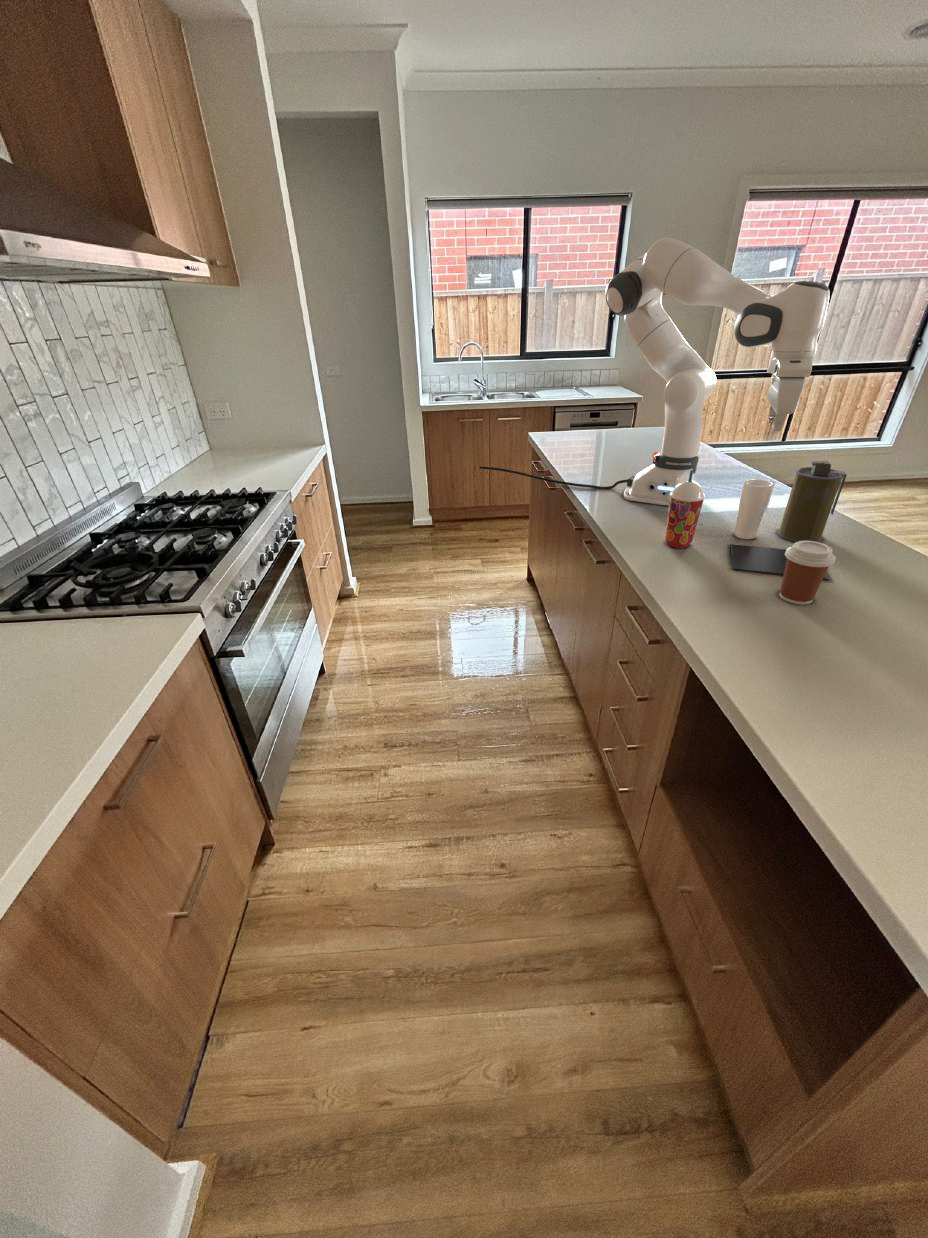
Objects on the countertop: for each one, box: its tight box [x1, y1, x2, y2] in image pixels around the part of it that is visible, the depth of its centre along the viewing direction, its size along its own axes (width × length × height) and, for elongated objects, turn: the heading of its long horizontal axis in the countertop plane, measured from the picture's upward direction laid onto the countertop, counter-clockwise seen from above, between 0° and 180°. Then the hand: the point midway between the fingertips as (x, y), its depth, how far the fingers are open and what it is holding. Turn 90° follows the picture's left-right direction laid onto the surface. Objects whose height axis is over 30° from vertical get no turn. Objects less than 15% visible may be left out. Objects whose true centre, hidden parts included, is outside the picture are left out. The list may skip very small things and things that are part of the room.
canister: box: [777, 460, 848, 543], centre depth 134 cm, size 11×10×20 cm
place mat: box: [729, 543, 830, 581], centre depth 127 cm, size 20×15×1 cm
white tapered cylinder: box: [733, 478, 774, 540], centre depth 137 cm, size 7×7×15 cm
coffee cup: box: [778, 541, 837, 605], centre depth 109 cm, size 9×9×12 cm
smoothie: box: [664, 470, 706, 549], centre depth 133 cm, size 8×8×20 cm
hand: (773, 426), depth 126 cm, fingers open, 8 cm apart
